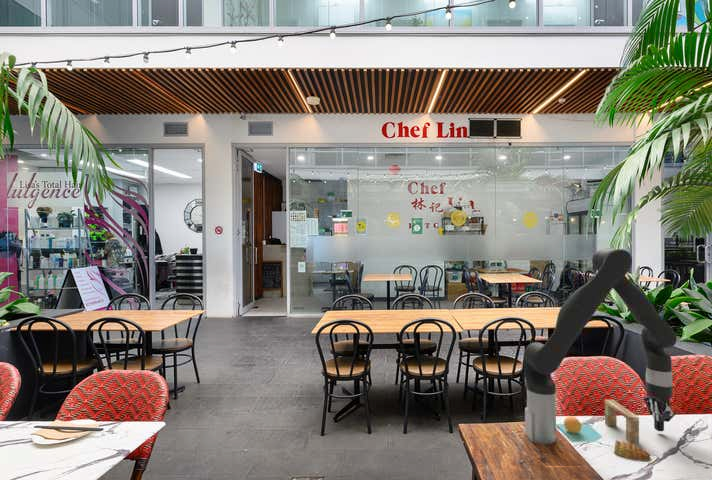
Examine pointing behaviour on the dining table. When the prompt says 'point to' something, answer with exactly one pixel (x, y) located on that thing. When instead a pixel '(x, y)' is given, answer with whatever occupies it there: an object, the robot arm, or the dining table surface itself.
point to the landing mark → (581, 433)
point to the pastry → (630, 451)
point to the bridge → (631, 418)
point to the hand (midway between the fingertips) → (659, 430)
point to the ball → (572, 425)
